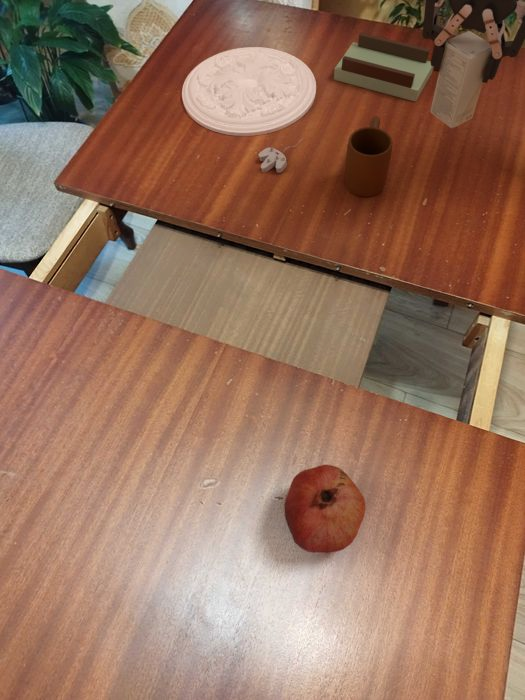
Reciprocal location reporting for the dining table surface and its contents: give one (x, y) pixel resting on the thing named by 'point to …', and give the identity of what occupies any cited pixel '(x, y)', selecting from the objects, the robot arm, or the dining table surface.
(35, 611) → the dining table surface
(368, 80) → the green base with ridges
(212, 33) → the dining table surface
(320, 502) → the fruit
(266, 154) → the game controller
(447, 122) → the box
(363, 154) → the mug
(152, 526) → the dining table surface
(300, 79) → the ceiling medallion
